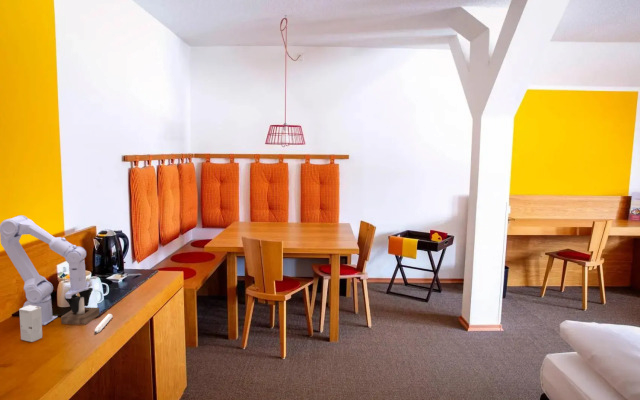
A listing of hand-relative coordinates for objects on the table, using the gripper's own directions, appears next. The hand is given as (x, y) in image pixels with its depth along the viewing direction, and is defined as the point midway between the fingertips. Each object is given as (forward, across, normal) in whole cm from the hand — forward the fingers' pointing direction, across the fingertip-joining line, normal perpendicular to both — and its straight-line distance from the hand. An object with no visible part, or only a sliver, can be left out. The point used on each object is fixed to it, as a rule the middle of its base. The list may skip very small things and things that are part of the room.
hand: (80, 308), depth 177 cm
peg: (+4, 0, 0) cm, 4 cm away
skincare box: (+5, -18, +8) cm, 20 cm away
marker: (+5, -6, -13) cm, 15 cm away
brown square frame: (+4, 0, 0) cm, 4 cm away
